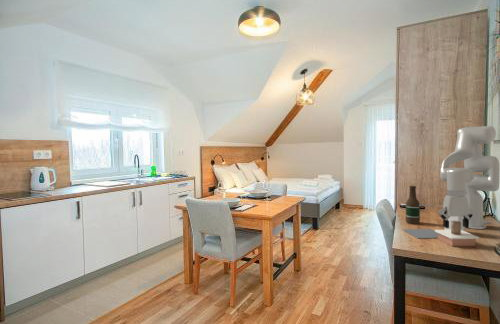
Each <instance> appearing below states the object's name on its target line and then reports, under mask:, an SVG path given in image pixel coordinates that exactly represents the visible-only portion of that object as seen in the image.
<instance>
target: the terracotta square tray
mask: <svg viewBox="0 0 500 324" xmlns="http://www.w3.org/2000/svg"><path fill="white" fill-rule="evenodd" d="M437 240H439V241H440V242H443V243H444V244H447V245H448V246H450V247H452V248H453V247H455V248H456V247H458V248H459V247H476V240H477V239H450V238H448V237H446V236H444V235H442V234H439V233H438V238H437Z"/></svg>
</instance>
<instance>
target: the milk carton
mask: <svg viewBox="0 0 500 324" xmlns="http://www.w3.org/2000/svg"><path fill="white" fill-rule="evenodd" d="M463 219H464V217H463V216H450V218H449V219H448V220H449V228H446V227H444V226H443V227H444V229H443V230H451V221H460V222H461V230H463V231H465V232H466V227H463Z"/></svg>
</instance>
